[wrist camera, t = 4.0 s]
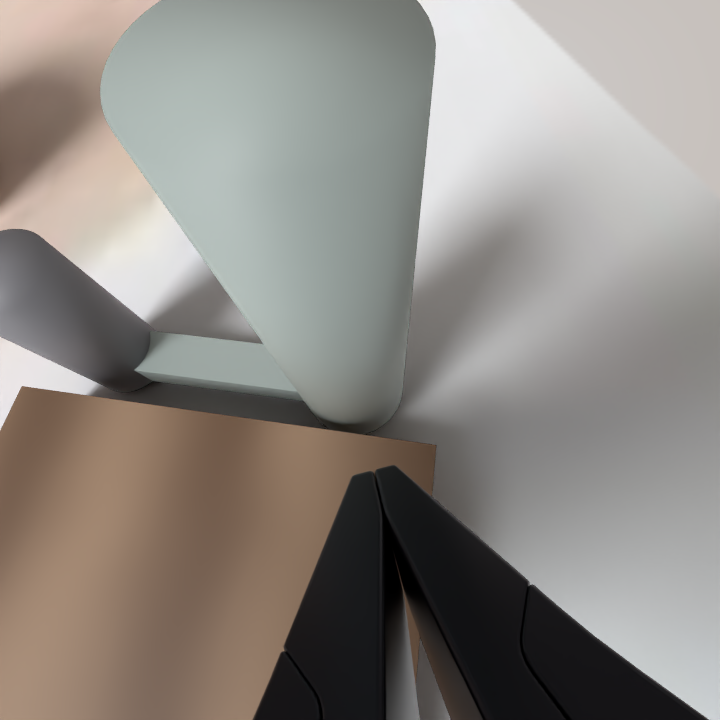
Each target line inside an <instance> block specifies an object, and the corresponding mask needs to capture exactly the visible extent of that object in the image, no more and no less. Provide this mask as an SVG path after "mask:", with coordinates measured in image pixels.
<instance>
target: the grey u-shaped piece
mask: <svg viewBox="0 0 720 720" xmlns="http://www.w3.org/2000/svg"><path fill="white" fill-rule="evenodd" d="M435 49H436V42H435V36H434V31H433V27H432V25H431V22H430V20H429V17H428V15H427V14H426V12H425V11H424V9H423V8H422V6H421V5H420V3H419V2H418V1H417V0H161V1H159V2H158V3H156V4H155V5H154V6H153V7H151V8H150V9H149V10H147V11H146V12H145V13H144V14H142V15H141V16H140V17H139V18H138V19H137V20H136V21H135V22H134V23H133V24H132V25H131V26H130V27H129V28H128V29H127V30H126V32H125V33H124V34H123V35H122V36H121V38H120V39H119V41H118V42H117V44H116V45H115V46H114V48H113V50H112V52H111V54H110V56H109V58H108V60H107V62H106V64H105V68H104V71H103V74H102V78H101V87H100V96H101V106H102V109H103V113H104V116H105V119H106V121H107V123H108V125H109V126H110V128H111V130H112V132H113V133H114V135H115V136H116V137H117V139H118V140H119V142H120V143H121V145H122V146H123V147H124V149H125V150H126V152H127V153H128V154H129V156H130V157H131V159H132V160H133V161H134V163H135V164H136V166H137V167H138V168H139V170H140V171H141V173H142V174H143V175H144V177H145V178H146V180H147V181H148V182H149V184H150V185H151V187H152V188H153V189H154V191H155V192H156V194H157V195H158V197H159V198H160V199H161V201H162V202H163V204H164V205H165V206H166V208H167V209H168V211H169V212H170V213H171V215H172V216H173V218H174V219H175V220H176V222H177V223H178V225H179V226H180V227H181V229H182V230H183V232H184V233H185V234H186V236H187V237H188V239H189V240H190V241H191V243H192V244H193V246H194V247H195V248H196V250H197V251H198V253H199V254H200V256H201V257H202V258H203V260H204V261H205V263H206V264H207V265H208V267H209V268H210V270H211V271H212V272H213V274H214V275H215V277H216V278H217V279H218V281H219V282H220V284H221V285H222V286H223V288H224V289H225V291H226V292H227V293H228V295H229V296H230V298H231V299H232V300H233V302H234V303H235V305H236V306H237V308H238V309H239V310H240V312H241V313H242V315H243V316H244V317H245V319H246V320H247V322H248V323H249V324H250V326H251V327H252V329H253V330H254V331H255V333H256V334H257V336H258V337H259V338H260V340H261V341H262V343H263V344H259V343H251V342H242V341H234V340H225V339H217V338H208V337H200V336H191V335H183V334H174V333H166V332H157V331H156V330H154V329H153V328H152V327H151V326H149V325H148V324H147V323H146V322H144V321H143V320H142V319H141V318H140V317H138V316H137V315H136V314H135V313H133V312H132V311H131V310H130V309H129V308H127V307H126V306H125V305H124V304H122V303H121V302H120V301H119V300H117V299H116V298H115V297H114V296H113V295H111V294H110V293H109V292H108V291H106V290H105V289H104V288H103V287H102V286H100V285H99V284H98V283H97V282H95V281H94V280H93V279H92V278H90V277H89V276H88V275H87V274H86V273H84V272H83V271H82V270H81V269H79V268H78V267H77V266H76V265H75V264H73V263H72V262H71V261H70V260H68V259H67V258H66V257H65V256H64V255H62V254H61V253H60V252H59V251H57V250H56V249H55V248H54V247H52V246H51V245H50V244H49V243H48V242H46V241H45V240H44V239H43V238H41V237H40V236H39V235H37V234H36V233H34V232H31V231H28V230H23V229H8V230H3V231H0V337H2V338H4V339H6V340H8V341H11V342H13V343H15V344H17V345H19V346H21V347H23V348H25V349H27V350H30V351H32V352H34V353H36V354H38V355H40V356H42V357H44V358H46V359H48V360H51V361H53V362H55V363H57V364H59V365H61V366H63V367H65V368H67V369H70V370H72V371H74V372H76V373H78V374H80V375H82V376H84V377H86V378H89V379H91V380H93V381H95V382H97V383H99V384H101V385H103V386H105V387H107V388H110V389H112V390H114V391H118V392H130V391H135V390H138V389H140V388H143V387H144V386H146V385H148V384H149V383H150V382H152V381H157V382H164V383H172V384H179V385H186V386H194V387H201V388H209V389H216V390H224V391H231V392H239V393H246V394H254V395H261V396H268V397H276V398H283V399H291V400H298V401H304V402H305V403H306V404H307V406H308V407H309V409H310V410H311V411H312V413H313V414H314V416H315V417H316V418H317V419H318V420H319V421H320V422H321V423H322V424H323V425H324V426H326V427H327V428H329V429H331V430H334V431H341V432H348V433H355V434H366V433H369V432H372V431H374V430H376V429H378V428H380V427H381V426H383V425H384V424H385V423H386V422H388V421H389V420H390V418H391V417H392V416H393V415H394V413H395V412H396V410H397V408H398V406H399V404H400V401H401V398H402V392H403V382H404V371H405V361H406V351H407V341H408V330H409V320H410V310H411V300H412V290H413V279H414V269H415V259H416V249H417V239H418V228H419V218H420V208H421V198H422V188H423V177H424V167H425V157H426V147H427V137H428V126H429V116H430V106H431V96H432V85H433V75H434V65H435Z"/></svg>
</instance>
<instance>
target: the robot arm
mask: <svg viewBox="0 0 720 720" xmlns="http://www.w3.org/2000/svg"><path fill="white" fill-rule="evenodd" d="M397 566H398V567H397ZM398 570H399V571H398ZM399 574H400V575H399ZM400 578H401V579H400ZM401 582H402V584H401ZM402 586H403V589H404V593H405V596H406V599H407V602H408V605H409V608H410V611H411V613H412V616H413V619H414V621H415V624H416V627H417V630H418V632H419V635H420V638H421V640H422V643H423V646H424V648H425V651H426V654H427V657H428V659H429V662H430V665H431V667H432V670H433V673H434V675H435V678H436V681H437V684H438V686H439V689H440V692H441V694H442V697H443V700H444V702H445V705H446V708H447V711H448V713H449V716H450V719H451V720H709V719H707V718H706V717H704V716H703V715H702V714H700V713H699V712H698V711H696V710H695V709H693V708H692V707H691V706H689V705H688V704H686V703H685V702H684V701H682V700H681V699H679V698H678V697H677V696H675V695H674V694H672V693H671V692H670V691H668V690H667V689H666V688H664V687H663V686H661V685H660V684H659V683H657V682H656V681H654V680H653V679H652V678H650V677H649V676H647V675H646V674H645V673H643V672H642V671H641V670H639V669H638V668H637V667H635V666H634V665H633V664H631V663H630V662H629V661H627V660H626V659H624V658H623V657H622V656H620V655H619V654H618V653H616V652H615V651H614V650H612V649H611V648H610V647H608V646H607V645H606V644H604V643H603V642H602V641H600V640H599V639H598V638H596V637H595V636H594V635H593V634H591V633H590V632H589V631H588V630H586V629H585V628H584V627H583V626H582V625H580V624H579V623H578V622H577V621H576V620H574V619H573V618H572V617H571V616H569V615H568V614H567V613H566V612H565V611H563V610H562V609H561V608H560V607H559V606H557V605H556V604H555V603H554V602H553V601H552V600H550V599H549V598H548V597H547V596H546V595H545V594H544V593H542V592H541V591H540V590H539V589H538V588H537V587H536V586H534V585H530V584H529V581H528V580H527V579H526V578H525V577H524V576H523V575H521V574H520V573H519V572H518V571H517V570H516V569H515V568H513V567H512V566H511V565H510V564H509V563H508V562H506V561H505V560H504V559H503V558H502V557H501V556H500V555H498V554H497V553H496V552H495V551H494V550H493V549H492V548H490V547H489V546H488V545H487V544H486V543H485V542H484V541H482V540H481V539H480V538H479V537H478V536H477V535H475V534H474V533H473V532H472V531H471V530H470V529H469V528H467V527H466V526H465V525H464V524H463V523H462V522H461V521H459V520H458V519H457V518H456V517H455V516H454V515H452V514H451V513H450V512H449V511H448V510H447V509H446V508H444V507H443V506H442V505H441V504H440V503H439V502H438V501H436V500H435V499H434V498H433V497H432V496H431V495H429V494H428V493H427V492H426V491H425V490H424V489H423V488H421V487H420V486H419V485H418V484H417V483H416V482H415V481H413V480H412V479H411V478H410V477H409V476H408V475H407V474H405V473H404V472H403V471H402V470H401V469H400V468H398V467H397V466H396V465H390V466H386V467H383V468H379V469H376V470H375V474H374V472H373V471H367V472H363V473H359V474H355V475H353V476H352V477H351V479H350V482H349V484H348V487H347V489H346V492H345V494H344V497H343V499H342V502H341V504H340V507H339V509H338V512H337V514H336V517H335V519H334V522H333V524H332V527H331V529H330V532H329V534H328V537H327V539H326V542H325V544H324V546H323V549H322V551H321V554H320V556H319V559H318V561H317V564H316V566H315V569H314V571H313V574H312V576H311V579H310V581H309V584H308V586H307V589H306V591H305V594H304V596H303V599H302V601H301V604H300V606H299V609H298V611H297V614H296V616H295V619H294V621H293V624H292V626H291V629H290V631H289V633H288V636H287V638H286V641H285V643H284V646H283V648H284V651H282V652H281V653H280V655H279V658H278V660H277V663H276V665H275V668H274V670H273V673H272V675H271V678H270V680H269V683H268V685H267V687H266V690H265V692H264V694H263V697H262V699H261V701H260V704H259V706H258V708H257V710H256V713H255V715H254V717H253V720H420V717H419V709H418V701H417V693H416V685H415V677H414V669H413V661H412V653H411V645H410V637H409V629H408V621H407V613H406V606H405V599H404V593H403V589H402Z"/></svg>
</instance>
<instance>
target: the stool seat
mask: <svg viewBox="0 0 720 720" xmlns="http://www.w3.org/2000/svg"><path fill="white" fill-rule="evenodd" d="M435 455H436V445H432V444H425V443H418V442H411V441H404V440H397V439H390V438H383V437H376V436H369V435H362V434H355V433H348V432H341V431H334V430H327V429H319V428H312V427H305V426H298V425H291V424H284V423H277V422H270V421H263V420H256V419H249V418H242V417H235V416H228V415H221V414H214V413H207V412H200V411H193V410H186V409H179V408H171V407H164V406H157V405H150V404H143V403H136V402H129V401H122V400H115V399H108V398H101V397H94V396H87V395H80V394H73V393H66V392H59V391H52V390H45V389H38V388H31V387H24V386H22V387H21V389H20V391H19V393H18V395H17V397H16V399H15V401H14V404H13V406H12V408H11V410H10V412H9V414H8V416H7V418H6V420H5V422H4V424H3V426H2V428H1V430H0V720H253V717H254V715H255V713H256V710H257V708H258V706H259V704H260V701H261V699H262V697H263V694H264V692H265V690H266V687H267V685H268V683H269V680H270V678H271V675H272V673H273V670H274V668H275V665H276V663H277V660H278V658H279V655H280V653H281V652H282V651H284V648H283V646H284V643H285V641H286V638H287V636H288V633H289V631H290V629H291V626H292V624H293V621H294V619H295V616H296V614H297V611H298V609H299V606H300V604H301V601H302V599H303V596H304V594H305V591H306V589H307V586H308V584H309V581H310V579H311V576H312V574H313V571H314V569H315V566H316V564H317V561H318V559H319V556H320V554H321V551H322V549H323V546H324V544H325V542H326V539H327V537H328V534H329V532H330V529H331V527H332V524H333V522H334V519H335V517H336V514H337V512H338V509H339V507H340V504H341V502H342V499H343V497H344V494H345V492H346V489H347V487H348V484H349V482H350V479H351V477H352V476H353V475H355V474H359V473H363V472H367V471H373V472H374V474H375V470H376V469H379V468H383V467H386V466H390V465H396V466H397V467H398V468H400V469H401V470H402V471H403V472H404V473H405V474H407V475H408V476H409V477H410V478H411V479H412V480H413V481H415V482H416V483H417V484H418V485H419V486H420V487H421V488H423V489H424V490H425V491H426V492H427V493H428V494H429V495H431V496H432V490H433V478H434V466H435ZM397 567H398V566H397ZM398 571H399V570H398ZM399 575H400V574H399ZM400 579H401V578H400ZM401 584H402V582H401ZM402 589H403V586H402ZM403 593H404V589H403ZM404 599H405V606H406V613H407V621H408V629H409V637H410V645H411V653H412V661H413V669H414V677H415V685H416V676H417V665H418V653H419V641H420V635H419V632H418V630H417V627H416V624H415V621H414V619H413V616H412V613H411V611H410V608H409V605H408V602H407V599H406V596H405V593H404Z"/></svg>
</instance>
